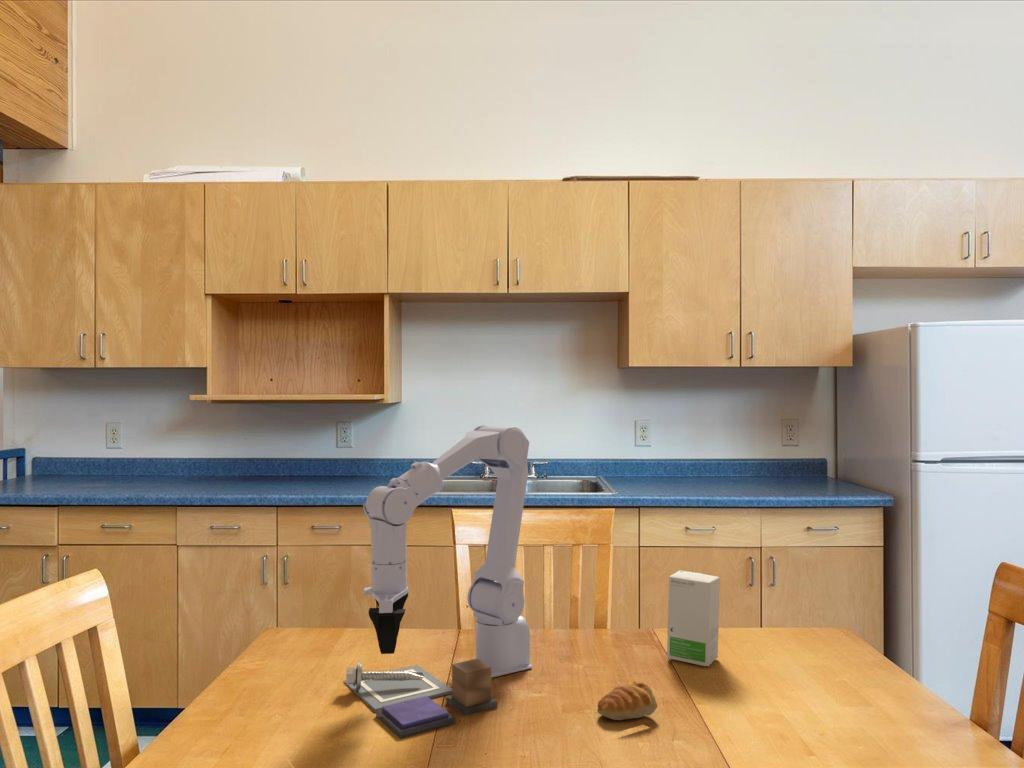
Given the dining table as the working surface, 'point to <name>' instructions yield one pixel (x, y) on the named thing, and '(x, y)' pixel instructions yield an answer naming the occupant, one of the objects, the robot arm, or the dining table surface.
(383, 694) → the marked board
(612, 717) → the pastry
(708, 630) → the skincare box
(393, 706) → the ink pad
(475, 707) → the stamp
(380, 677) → the screw
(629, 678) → the dining table surface
